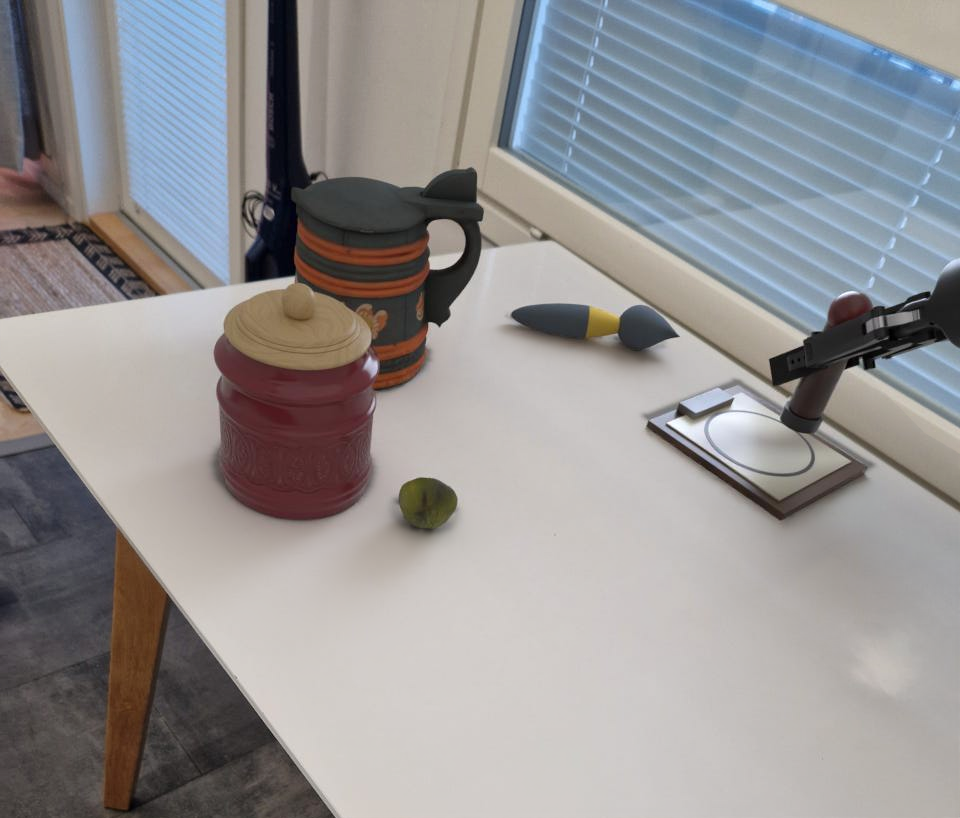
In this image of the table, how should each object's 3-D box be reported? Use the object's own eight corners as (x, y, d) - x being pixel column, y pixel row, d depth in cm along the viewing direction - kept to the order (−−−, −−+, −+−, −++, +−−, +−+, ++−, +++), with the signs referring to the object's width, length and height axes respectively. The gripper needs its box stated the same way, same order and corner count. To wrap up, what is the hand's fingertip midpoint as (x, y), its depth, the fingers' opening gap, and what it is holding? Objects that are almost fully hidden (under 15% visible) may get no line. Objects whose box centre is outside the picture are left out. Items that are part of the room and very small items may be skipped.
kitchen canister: (377, 523, 77) (396, 333, 65) (221, 524, 74) (209, 323, 61) (361, 436, 86) (375, 253, 73) (220, 433, 82) (209, 241, 70)
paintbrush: (510, 339, 104) (518, 297, 100) (508, 319, 107) (516, 278, 104) (674, 363, 106) (687, 323, 103) (667, 342, 110) (680, 303, 106)
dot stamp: (825, 427, 91) (889, 299, 81) (804, 438, 89) (867, 307, 79) (793, 408, 93) (853, 280, 83) (771, 418, 91) (830, 287, 81)
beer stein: (445, 325, 104) (472, 138, 90) (476, 394, 94) (511, 197, 80) (278, 319, 98) (278, 120, 84) (293, 392, 89) (296, 181, 75)
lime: (388, 515, 78) (394, 468, 75) (436, 503, 80) (443, 457, 77) (413, 546, 76) (420, 499, 72) (461, 533, 78) (470, 487, 75)
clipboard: (864, 473, 96) (872, 459, 95) (781, 520, 87) (788, 505, 86) (734, 390, 104) (740, 377, 103) (645, 426, 95) (650, 411, 94)
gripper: (941, 346, 66) (731, 416, 88) (1081, 332, 73) (854, 400, 94) (927, 242, 66) (719, 338, 87) (1070, 237, 72) (843, 328, 93)
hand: (789, 370), depth 90 cm, fingers closed on dot stamp, 3 cm apart
